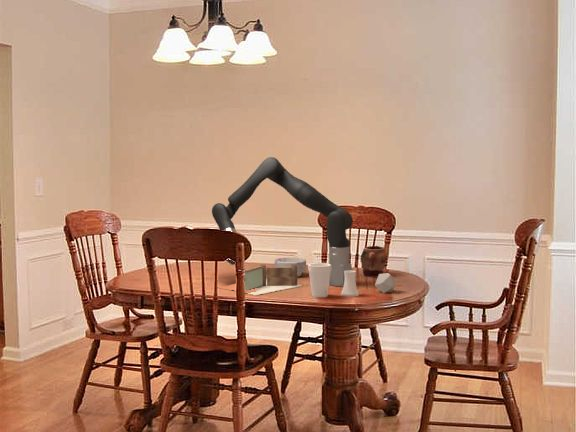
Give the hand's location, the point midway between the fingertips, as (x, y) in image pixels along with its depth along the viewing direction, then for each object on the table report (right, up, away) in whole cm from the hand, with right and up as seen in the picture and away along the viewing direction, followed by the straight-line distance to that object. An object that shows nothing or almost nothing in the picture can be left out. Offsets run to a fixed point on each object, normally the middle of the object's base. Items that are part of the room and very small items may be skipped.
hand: (241, 270), depth 305 cm
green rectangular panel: (+6, -7, -5) cm, 10 cm away
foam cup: (+34, -9, -19) cm, 40 cm away
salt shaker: (+46, -9, -17) cm, 50 cm away
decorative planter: (+61, -5, +26) cm, 67 cm away
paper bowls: (+22, -5, +29) cm, 36 cm away
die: (+62, -8, -12) cm, 64 cm away
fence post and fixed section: (+17, -7, +2) cm, 18 cm away
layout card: (+8, -7, +2) cm, 11 cm away
